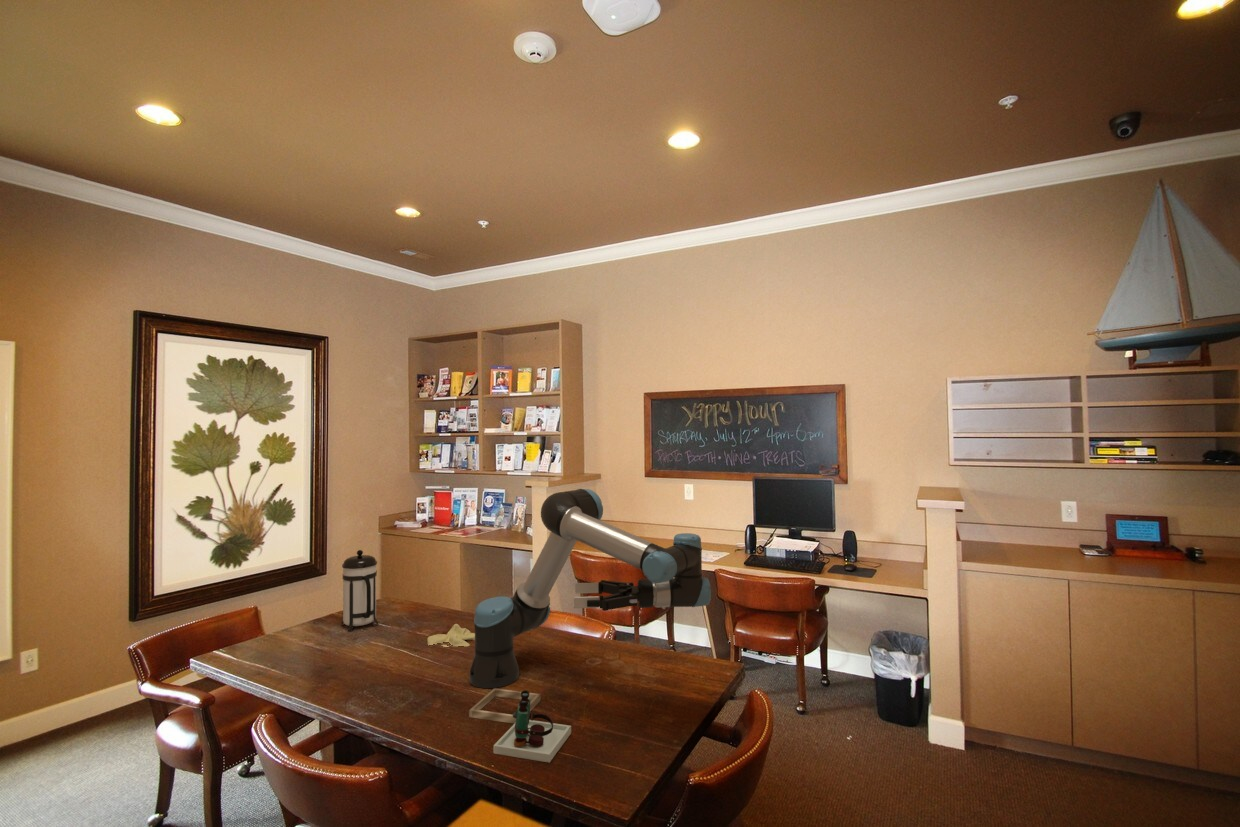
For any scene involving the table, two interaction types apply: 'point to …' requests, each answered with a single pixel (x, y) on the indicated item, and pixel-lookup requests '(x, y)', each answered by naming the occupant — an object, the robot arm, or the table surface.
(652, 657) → the table surface
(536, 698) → the holder
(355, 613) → the coffee press
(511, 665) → the robot arm
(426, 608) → the table surface
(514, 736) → the tray
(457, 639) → the cloth
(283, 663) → the table surface
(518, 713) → the binoculars
